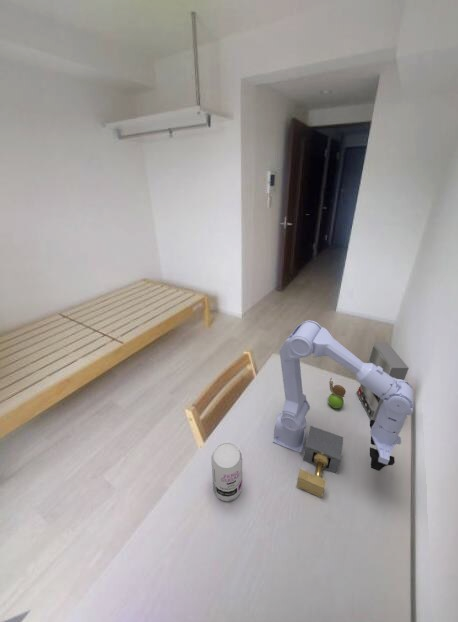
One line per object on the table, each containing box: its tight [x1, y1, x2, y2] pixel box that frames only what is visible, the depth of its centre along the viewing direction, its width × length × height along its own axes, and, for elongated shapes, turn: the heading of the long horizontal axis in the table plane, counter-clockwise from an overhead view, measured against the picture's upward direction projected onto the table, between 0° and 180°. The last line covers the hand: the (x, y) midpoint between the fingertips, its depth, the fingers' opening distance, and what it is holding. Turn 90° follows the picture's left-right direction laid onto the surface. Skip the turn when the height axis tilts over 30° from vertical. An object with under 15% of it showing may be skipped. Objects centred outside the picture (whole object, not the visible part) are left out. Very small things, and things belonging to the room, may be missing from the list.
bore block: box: [302, 425, 344, 475], centre depth 84 cm, size 10×8×7 cm
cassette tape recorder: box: [356, 342, 410, 421], centre depth 96 cm, size 14×6×25 cm, turn 178°
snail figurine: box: [327, 377, 347, 409], centre depth 100 cm, size 5×6×12 cm
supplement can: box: [210, 442, 243, 502], centre depth 74 cm, size 8×8×15 cm
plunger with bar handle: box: [296, 452, 329, 498], centre depth 81 cm, size 7×15×5 cm, turn 155°
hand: (374, 455), depth 75 cm, fingers open, 7 cm apart
